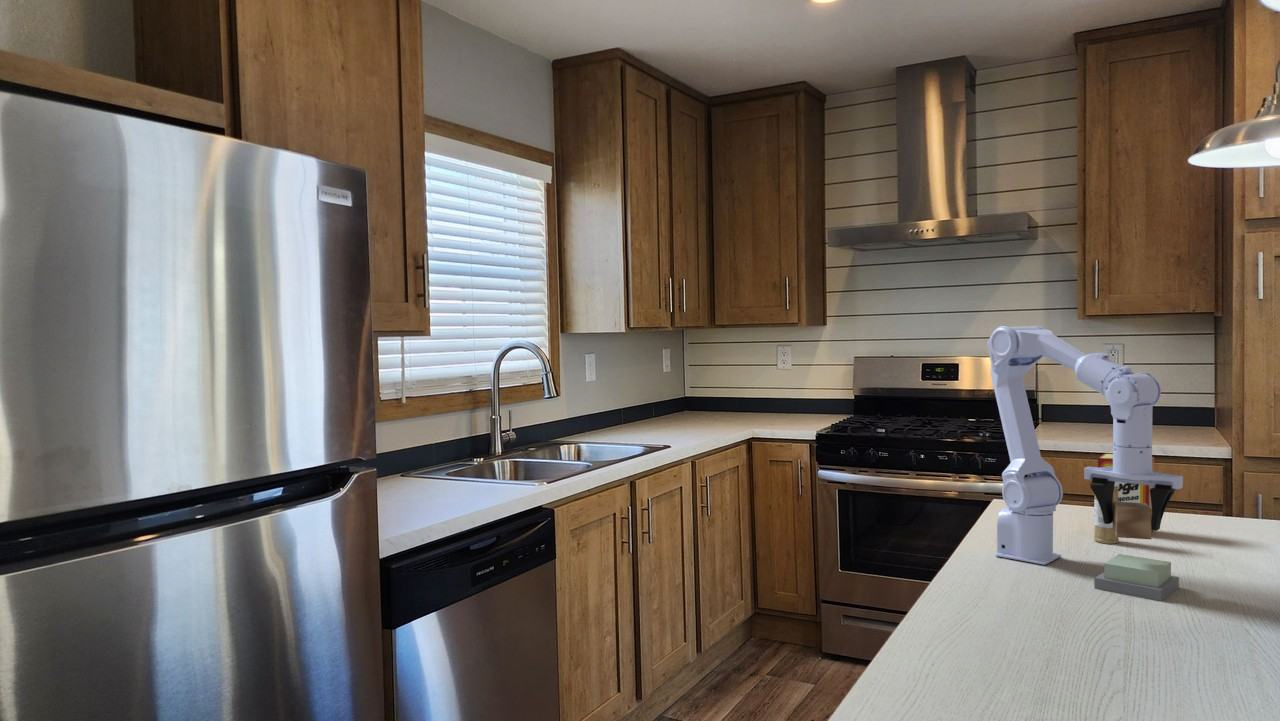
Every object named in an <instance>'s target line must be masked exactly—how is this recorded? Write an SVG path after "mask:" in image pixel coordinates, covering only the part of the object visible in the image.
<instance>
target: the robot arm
mask: <svg viewBox="0 0 1280 721" xmlns="http://www.w3.org/2000/svg"><path fill="white" fill-rule="evenodd" d="M986 346H987V350H988V355H989V357H990V358H989V359H990V376H991V381H992V386H993V390H994V395H995V399H996V400H995V401H996V403H997V407H998V412H999V417H1000V421H1001V426H1002V430H1003V434H1004V438H1005V442H1006V443H1005V444H1006V447H1007V448H1006V449H1007V451H1008V456H1009V462H1010V463H1009V464H1008V465H1007V467H1006V468H1005V469H1004V470H1003V471H1002V473H1001V477H1002V489H1001V490H1002V491H1001V494H1002V499H1003V501H1004V503H1005V505H1006V507H1003V508H1002V509H1001V510H1000V511H999V513H998V516H997V520H996V552H995V554H994V556H995V557H1001V558H1005V559H1011V560H1016V561H1023V562H1029V563H1033V564H1037V565H1038V564H1039V565H1044V566H1045V565H1048V564H1050V563H1051V562H1053V561H1055V560H1057V559H1059V558H1061V557H1062V554H1061V553H1057V552H1054V512H1056V511H1057V509H1056V508H1057V506H1059V504H1060V503H1061V502H1062V499H1063V496H1064V491H1063V486H1062V483H1061V482H1060V480H1059V478H1058V477H1057V476H1056V473H1055V469H1054V467H1053V465H1052V464H1050V463H1048V462H1047V461H1046V460H1045V459H1044V458H1042V456H1041V450H1040V447H1039V442H1038V438H1037V434H1036V430H1035V426H1034V421H1033V416H1032V413H1031V412H1032V411H1031V408H1030V403H1029V401H1028V395H1027V392H1026V388H1025V386H1026V385H1025V383H1024V376H1025V375H1026V374H1027V372H1028V371H1030V369H1032V368H1033V367H1034V366H1035V365H1036V364H1037V363H1038V362H1039V361H1040V360H1041V359H1043V357H1045V358H1047V359H1049V360H1051V361H1054V362H1055V363H1057V364H1060V365H1062V366H1064V367H1066V368H1068V369H1070V370H1072V371H1074V372H1075V376H1076V379H1077V381H1079V382H1080V383H1082V384H1084V385H1085V386H1088V387H1089V388H1091V389H1092V390H1094V391H1096V392H1098V393H1099V394H1101V395H1103V396H1105V400H1106V401H1107V403H1108V404H1109V406H1110V414H1111V416H1112V419H1113V421H1112V422H1113V424H1112V426H1113V429H1112V432H1113V433H1112V454H1113V468H1101V467H1098V466H1087V467H1084V469H1083V472H1084V473H1083V474H1084V476H1083V477H1084V480H1092V481H1091V482H1090V483H1089V486H1090V487H1089V488H1090V490H1091V491H1092V492H1093V494H1094V497H1095V496H1096V498H1097V500H1098V503H1099V505H1100V508H1101V511H1102V515H1103V519H1104V524H1110V523H1112V522H1113V492H1114V485H1115V482H1124V483H1133V484H1142V485H1151V486H1154V488H1151V489H1150V496H1151V505H1152V517H1151V530H1152V531H1153V532H1158V531H1159V530H1160V528H1161V523H1162V520H1163V516H1164V513H1165V510H1166V508H1167V506H1168V504H1169V502H1170V500H1171V499H1172V497H1173V495H1174V494H1175V491H1176V490H1181V489H1184V488H1183V487H1184V485H1183V484H1184V476H1183V475H1177V474H1171V473H1170V474H1169V473H1161V472H1157V471H1154V472H1152V457H1153V406H1154V405H1156V404H1157V403H1158V402H1159V401H1160V399H1161V394H1162V389H1161V385H1160V382H1159V381H1158V380H1157V378H1155V376H1153V375H1152V374H1151V373H1149V372H1137V373H1135V372H1134V371H1133V370H1132V367H1130V366H1129V365H1121V364H1120V363H1117V362H1116V361H1114V360H1112V359H1110V355H1109V354H1107V353H1106V352H1092V353H1088V354H1086V353H1085V352H1082V351H1081V350H1079V349H1078V348H1077V347H1075V346H1073V345H1072V344H1070V343H1068V342H1066V341H1065V340H1063V339H1061V338H1060V337H1058V336H1056V335H1055V334H1054V333H1053V331H1052V330H1050V329H1047V328H1046V329H1045V327H1043V326H1041V325H1031V326H1030V325H1029V326H1006V325H1005V326H1004V325H1003V326H1002V325H1001V326H998V327H997V328H996V329H994V330H993V332H992V333H991V335H990V337H989V339H988V341H987V342H986ZM1026 475H1029V476H1026ZM1120 478H1122V479H1120ZM1129 479H1133V480H1129ZM1138 480H1143V481H1138Z"/></svg>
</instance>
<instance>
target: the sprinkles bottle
mask: <svg viewBox="0 0 1280 721" xmlns="http://www.w3.org/2000/svg"><path fill="white" fill-rule="evenodd" d="M1118 486H1119V482H1115V485H1114V492H1113V502H1118V488H1119V487H1118ZM1093 507H1094V509H1093V518H1094V521H1093V525H1094V536H1093V540H1094V542H1097V543H1099V544H1108V545H1109V544H1110V545H1113V544H1117V543H1119V541H1120V539H1119V537H1116V535H1115V534H1114V532H1113V522H1112V523H1110V524H1104V519H1103V515H1102V511H1101V508H1100V505H1099V503H1098V500H1097V498H1096V496H1095V495H1094V506H1093Z"/></svg>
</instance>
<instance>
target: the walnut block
mask: <svg viewBox="0 0 1280 721" xmlns="http://www.w3.org/2000/svg"><path fill="white" fill-rule="evenodd" d="M1113 532H1114V534H1115V535H1116V537H1118V538H1122V539H1123V538H1124V539H1137V540H1138V539H1139V540H1152V533H1151V508H1150V507H1149V506H1148V505H1147V504H1146V503H1132V502H1113Z"/></svg>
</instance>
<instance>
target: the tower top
mask: <svg viewBox="0 0 1280 721" xmlns="http://www.w3.org/2000/svg"><path fill="white" fill-rule="evenodd" d="M1103 564H1104V565H1103V566H1104V567H1103V568H1104V569H1103V572H1104V578H1106V579H1112V580H1118V581H1123V582H1129V583H1135V584H1140V585H1146V586H1152V587H1159V586H1160V585H1161V584H1163V583H1164V582H1165V581H1166V580H1168V579H1169V578H1170V577H1171V576H1172V562H1171V561H1167V560H1160V559H1154V558H1146V557H1141V556H1140V557H1139V556H1135V555H1129V554H1122V553H1118V554H1117V555H1115V556H1113V557H1112V558H1110V559H1109V560H1107V561H1106V562H1104V563H1103Z"/></svg>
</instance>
